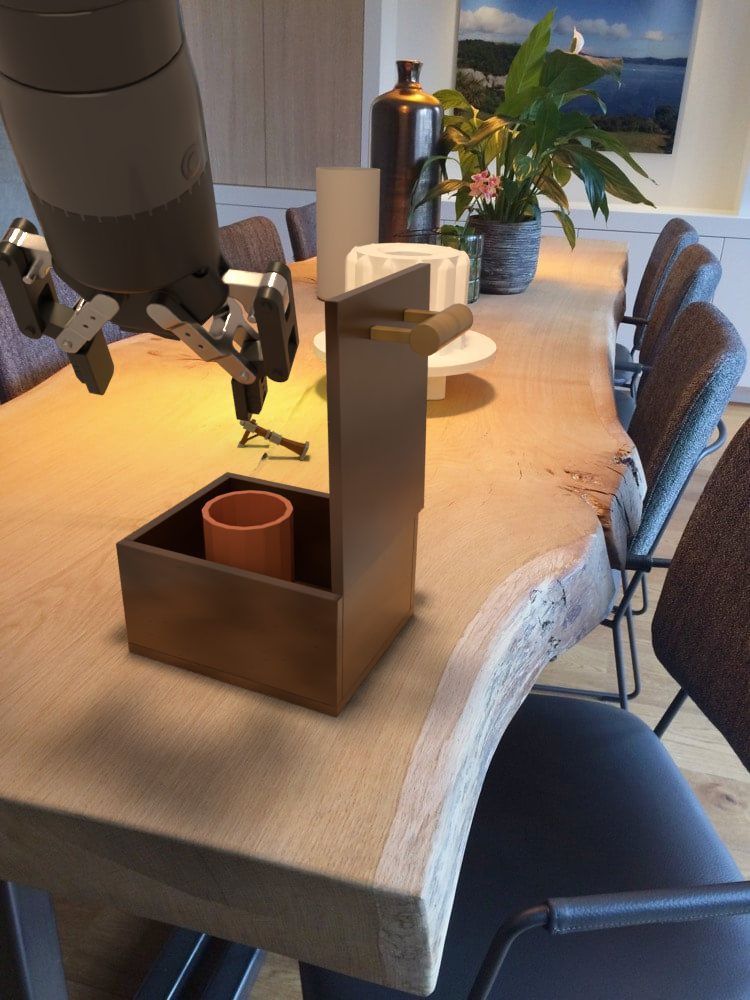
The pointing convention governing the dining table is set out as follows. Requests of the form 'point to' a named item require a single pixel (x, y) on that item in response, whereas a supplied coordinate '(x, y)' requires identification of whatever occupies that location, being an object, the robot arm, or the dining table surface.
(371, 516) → the lid
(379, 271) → the flanged gear
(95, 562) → the dining table surface
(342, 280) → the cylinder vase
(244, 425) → the toy mortar
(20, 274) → the robot arm
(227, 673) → the chest
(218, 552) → the cup
